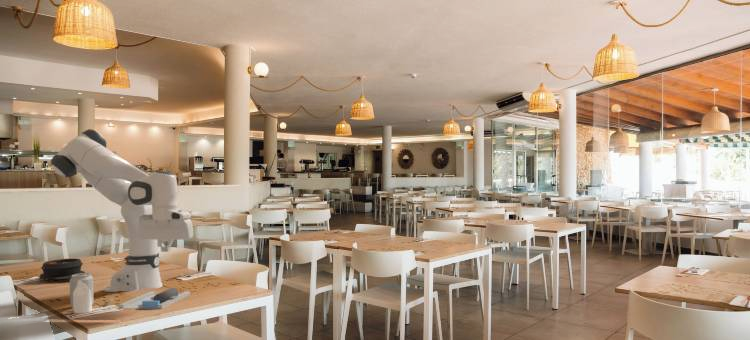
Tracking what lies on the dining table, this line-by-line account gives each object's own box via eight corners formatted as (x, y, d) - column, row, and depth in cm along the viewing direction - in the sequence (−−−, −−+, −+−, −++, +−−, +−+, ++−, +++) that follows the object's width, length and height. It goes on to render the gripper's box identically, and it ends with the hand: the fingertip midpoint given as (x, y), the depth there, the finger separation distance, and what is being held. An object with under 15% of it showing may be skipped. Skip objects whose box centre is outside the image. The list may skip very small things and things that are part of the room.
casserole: (29, 279, 243) (28, 262, 243) (71, 272, 258) (71, 256, 258) (52, 285, 228) (52, 266, 228) (95, 277, 243) (95, 260, 243)
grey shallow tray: (119, 310, 181) (119, 301, 181) (151, 296, 201) (150, 288, 201) (162, 311, 179) (161, 301, 179) (189, 297, 199) (189, 288, 199)
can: (76, 304, 192) (75, 272, 192) (97, 303, 192) (96, 271, 192) (66, 310, 184) (65, 276, 184) (88, 309, 185) (87, 275, 185)
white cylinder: (95, 278, 180) (80, 281, 175) (96, 312, 180) (81, 316, 175) (82, 277, 182) (68, 280, 177) (83, 311, 182) (69, 315, 177)
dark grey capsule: (158, 307, 183) (166, 300, 183) (151, 299, 184) (158, 291, 183) (172, 300, 193) (180, 293, 193) (166, 292, 194) (173, 285, 193)
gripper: (133, 215, 189) (134, 252, 189) (186, 214, 186) (187, 253, 186) (143, 213, 195) (144, 250, 195) (194, 213, 193) (195, 250, 192)
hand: (165, 251), depth 191 cm, fingers closed
